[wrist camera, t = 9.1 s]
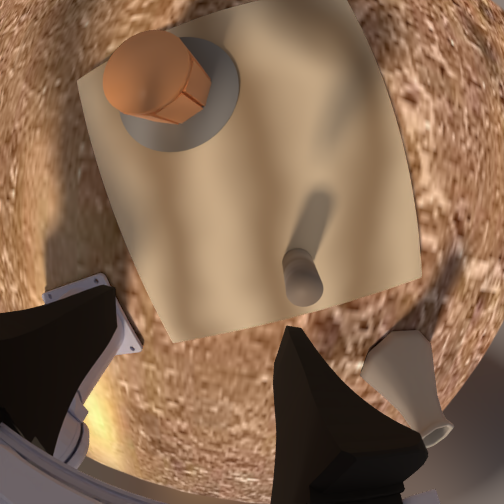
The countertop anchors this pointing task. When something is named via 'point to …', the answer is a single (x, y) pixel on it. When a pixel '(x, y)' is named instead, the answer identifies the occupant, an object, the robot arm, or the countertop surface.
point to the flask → (408, 382)
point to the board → (263, 173)
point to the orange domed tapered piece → (156, 78)
